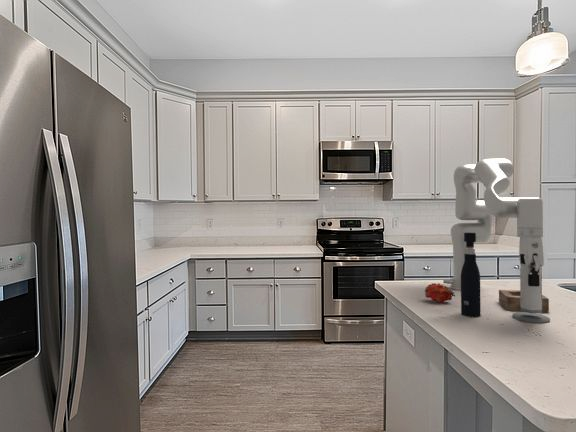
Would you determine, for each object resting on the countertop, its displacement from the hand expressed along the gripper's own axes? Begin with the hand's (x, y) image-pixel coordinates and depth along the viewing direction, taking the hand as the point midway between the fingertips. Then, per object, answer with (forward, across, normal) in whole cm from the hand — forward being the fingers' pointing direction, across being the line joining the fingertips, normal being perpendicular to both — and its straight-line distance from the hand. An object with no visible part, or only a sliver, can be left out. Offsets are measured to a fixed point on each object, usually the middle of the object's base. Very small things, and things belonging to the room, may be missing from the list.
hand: (530, 283), depth 127 cm
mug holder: (+12, +16, -2) cm, 20 cm away
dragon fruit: (+13, +17, +28) cm, 35 cm away
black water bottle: (+12, 0, +19) cm, 23 cm away
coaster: (+12, 0, 0) cm, 12 cm away
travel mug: (+10, 0, 0) cm, 10 cm away
